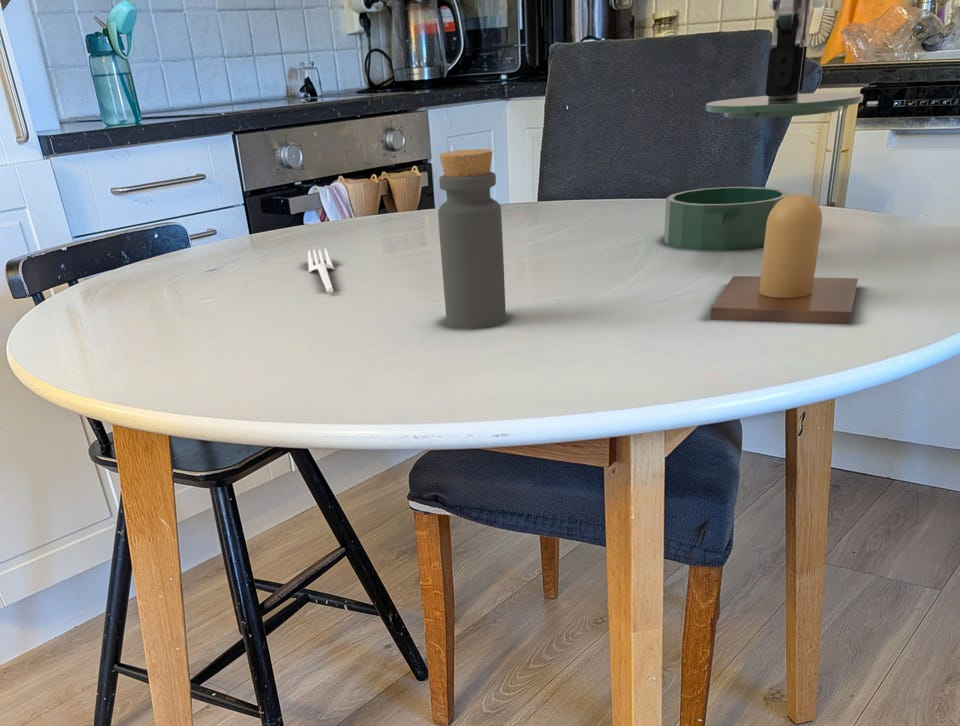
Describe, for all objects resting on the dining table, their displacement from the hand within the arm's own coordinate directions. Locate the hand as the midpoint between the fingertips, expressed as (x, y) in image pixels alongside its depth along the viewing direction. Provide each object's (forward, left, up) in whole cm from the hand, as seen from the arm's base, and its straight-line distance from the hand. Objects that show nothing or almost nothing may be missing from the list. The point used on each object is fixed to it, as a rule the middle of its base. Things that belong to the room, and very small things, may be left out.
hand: (783, 92), depth 90 cm
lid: (0, 0, -1) cm, 1 cm away
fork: (+52, +11, -17) cm, 56 cm away
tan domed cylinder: (-4, +20, -15) cm, 25 cm away
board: (-4, +19, -17) cm, 26 cm away
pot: (+7, -13, -17) cm, 22 cm away
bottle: (+24, +29, -17) cm, 42 cm away
